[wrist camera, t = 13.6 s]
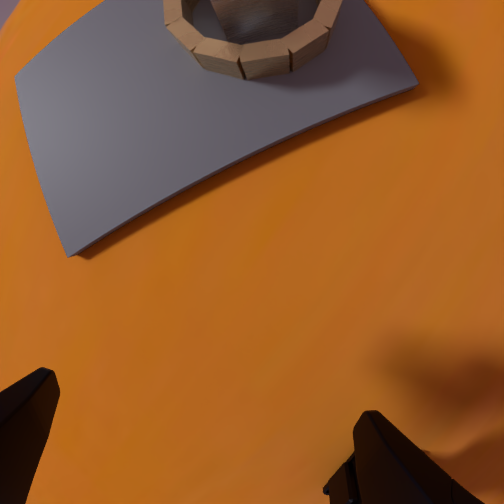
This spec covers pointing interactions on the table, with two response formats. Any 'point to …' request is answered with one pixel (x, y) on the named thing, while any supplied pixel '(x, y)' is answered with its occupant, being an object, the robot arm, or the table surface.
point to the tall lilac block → (255, 18)
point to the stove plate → (176, 108)
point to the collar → (253, 54)
